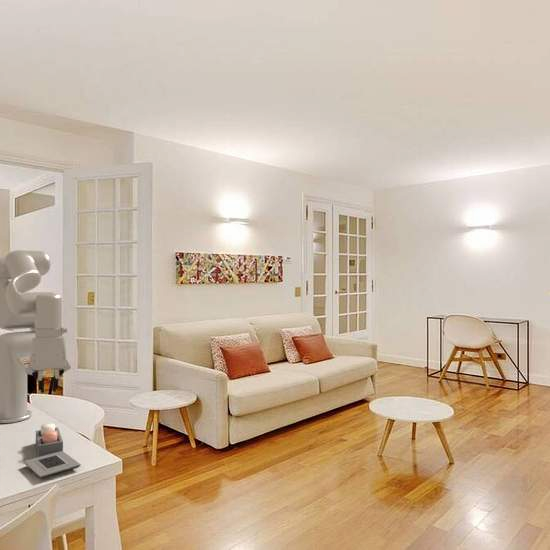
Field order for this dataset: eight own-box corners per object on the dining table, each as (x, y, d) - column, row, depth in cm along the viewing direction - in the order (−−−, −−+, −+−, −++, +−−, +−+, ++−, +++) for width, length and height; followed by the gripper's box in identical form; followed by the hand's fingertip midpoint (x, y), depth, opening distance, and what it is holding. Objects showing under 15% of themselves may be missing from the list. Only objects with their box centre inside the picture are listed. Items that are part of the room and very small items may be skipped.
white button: (40, 437, 145) (40, 424, 144) (54, 435, 147) (54, 422, 147) (41, 441, 141) (41, 428, 141) (55, 439, 143) (55, 426, 143)
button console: (35, 443, 145) (35, 430, 145) (57, 439, 149) (57, 427, 148) (38, 459, 133) (38, 445, 133) (62, 455, 137) (62, 441, 136)
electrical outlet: (80, 471, 126) (80, 463, 126) (39, 484, 119) (39, 475, 119) (62, 457, 136) (62, 449, 136) (23, 468, 128) (23, 460, 128)
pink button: (42, 444, 139) (42, 431, 138) (56, 442, 141) (56, 429, 141) (43, 449, 135) (43, 435, 135) (57, 446, 137) (58, 433, 137)
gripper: (75, 330, 151) (74, 385, 151) (18, 333, 142) (18, 391, 143) (78, 333, 144) (77, 391, 145) (19, 336, 136) (19, 397, 136)
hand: (48, 390), depth 144 cm, fingers open, 2 cm apart
